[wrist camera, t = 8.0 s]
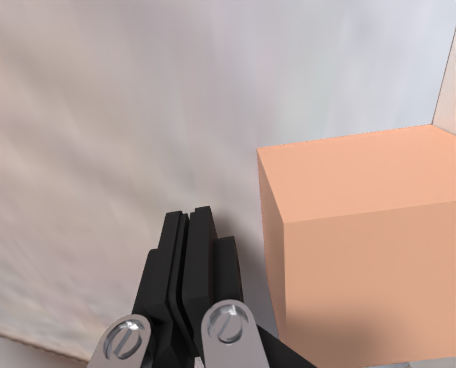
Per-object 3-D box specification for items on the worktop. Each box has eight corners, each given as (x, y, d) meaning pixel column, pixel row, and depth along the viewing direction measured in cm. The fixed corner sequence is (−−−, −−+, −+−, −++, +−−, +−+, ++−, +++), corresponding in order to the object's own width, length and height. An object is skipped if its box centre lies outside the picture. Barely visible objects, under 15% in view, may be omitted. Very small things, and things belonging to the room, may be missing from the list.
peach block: (427, 122, 11) (568, 186, 6) (390, 260, 15) (462, 355, 11) (256, 146, 11) (283, 223, 7) (266, 276, 15) (287, 376, 11)
